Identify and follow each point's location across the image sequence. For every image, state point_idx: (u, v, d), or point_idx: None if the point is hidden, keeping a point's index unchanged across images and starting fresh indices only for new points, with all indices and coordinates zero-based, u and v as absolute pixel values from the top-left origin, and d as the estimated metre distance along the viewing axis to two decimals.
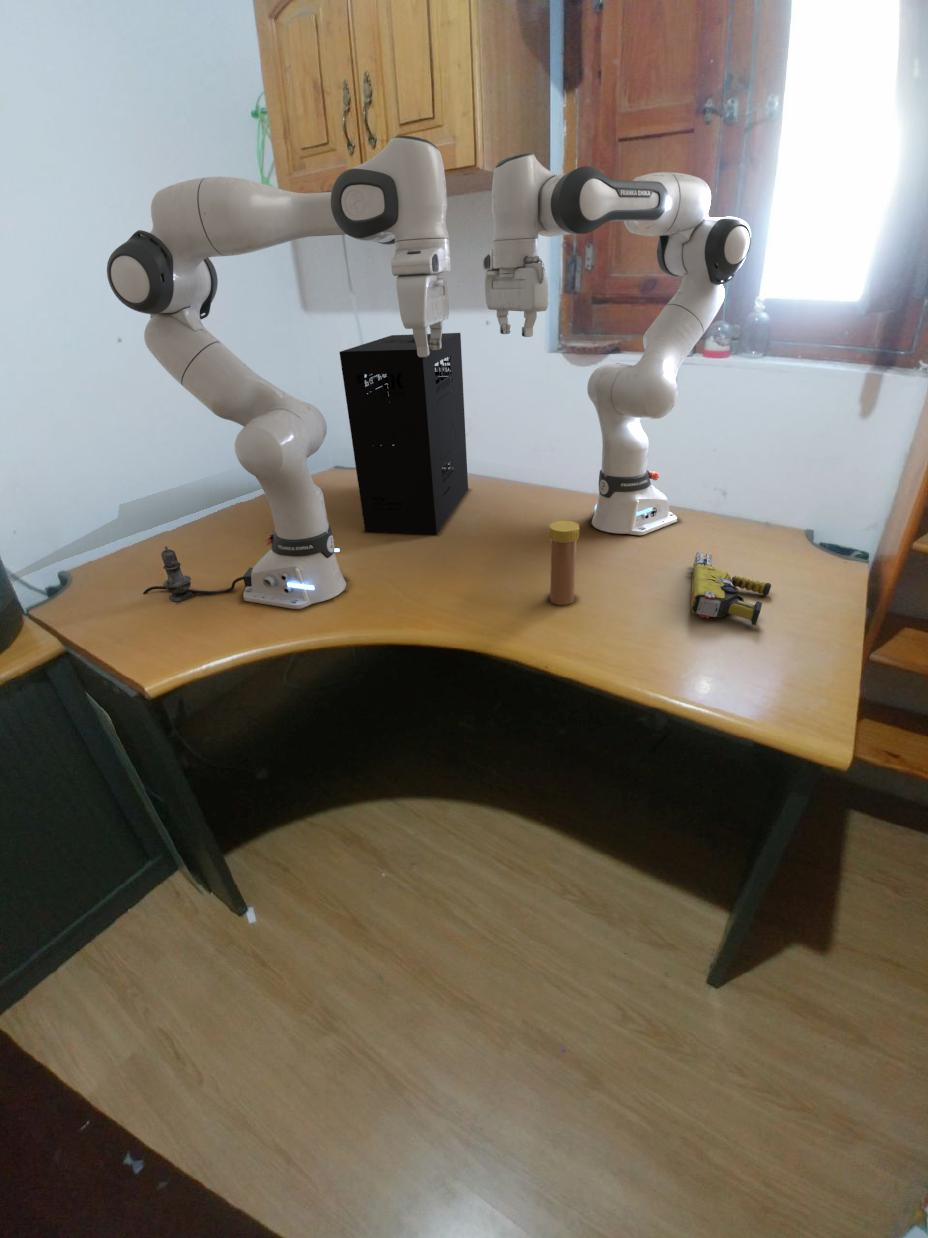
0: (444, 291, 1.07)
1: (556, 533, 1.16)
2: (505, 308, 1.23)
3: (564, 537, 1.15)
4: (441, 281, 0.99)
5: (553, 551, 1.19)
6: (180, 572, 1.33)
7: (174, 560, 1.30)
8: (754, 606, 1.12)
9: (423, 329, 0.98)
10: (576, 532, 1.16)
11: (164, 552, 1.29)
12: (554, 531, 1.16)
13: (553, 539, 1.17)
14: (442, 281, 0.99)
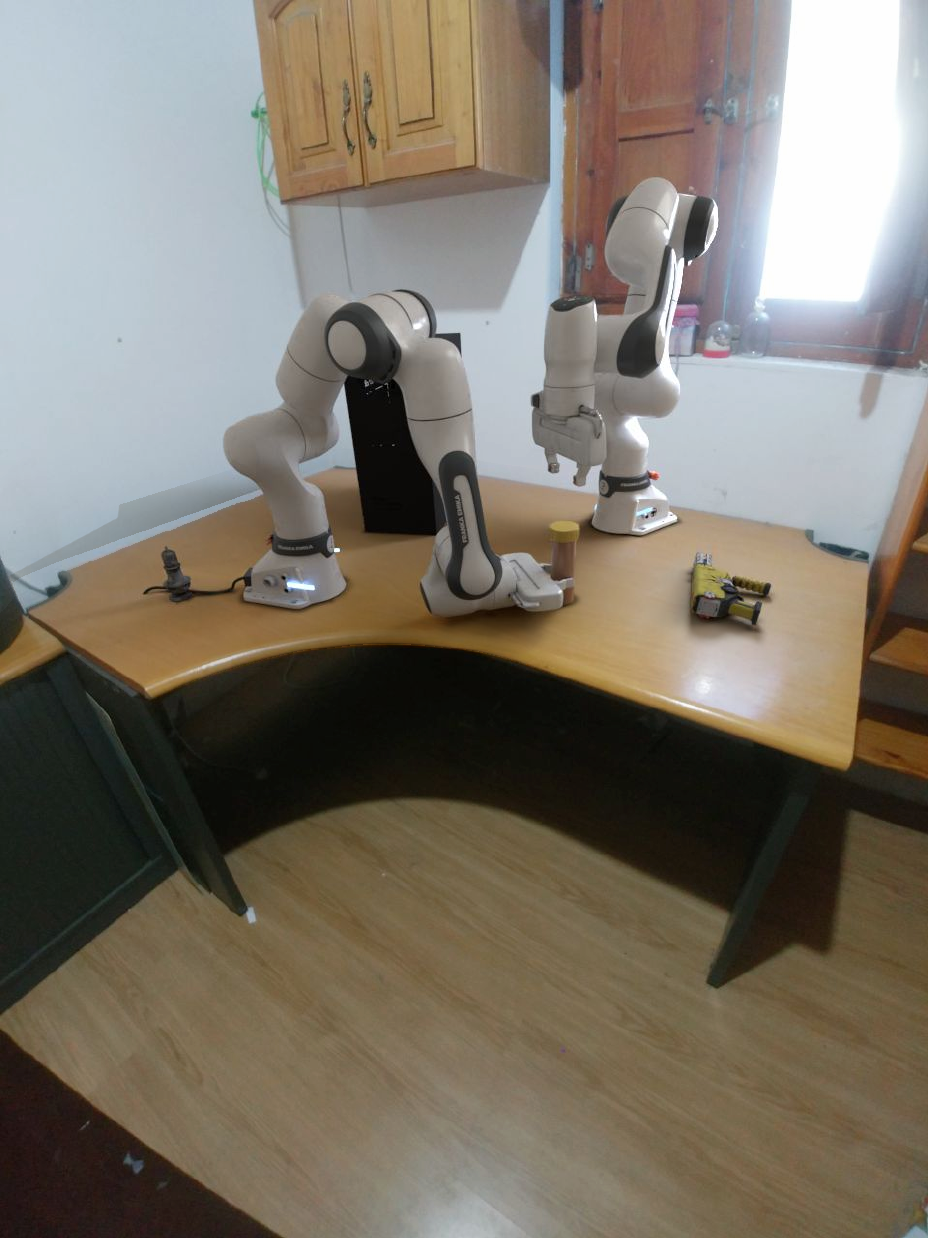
0: None
1: (556, 533, 1.16)
2: (555, 451, 1.10)
3: (564, 537, 1.15)
4: None
5: (553, 551, 1.19)
6: (180, 572, 1.33)
7: (174, 560, 1.30)
8: (754, 606, 1.12)
9: None
10: (576, 532, 1.16)
11: (164, 552, 1.29)
12: (554, 531, 1.16)
13: (553, 539, 1.17)
14: None
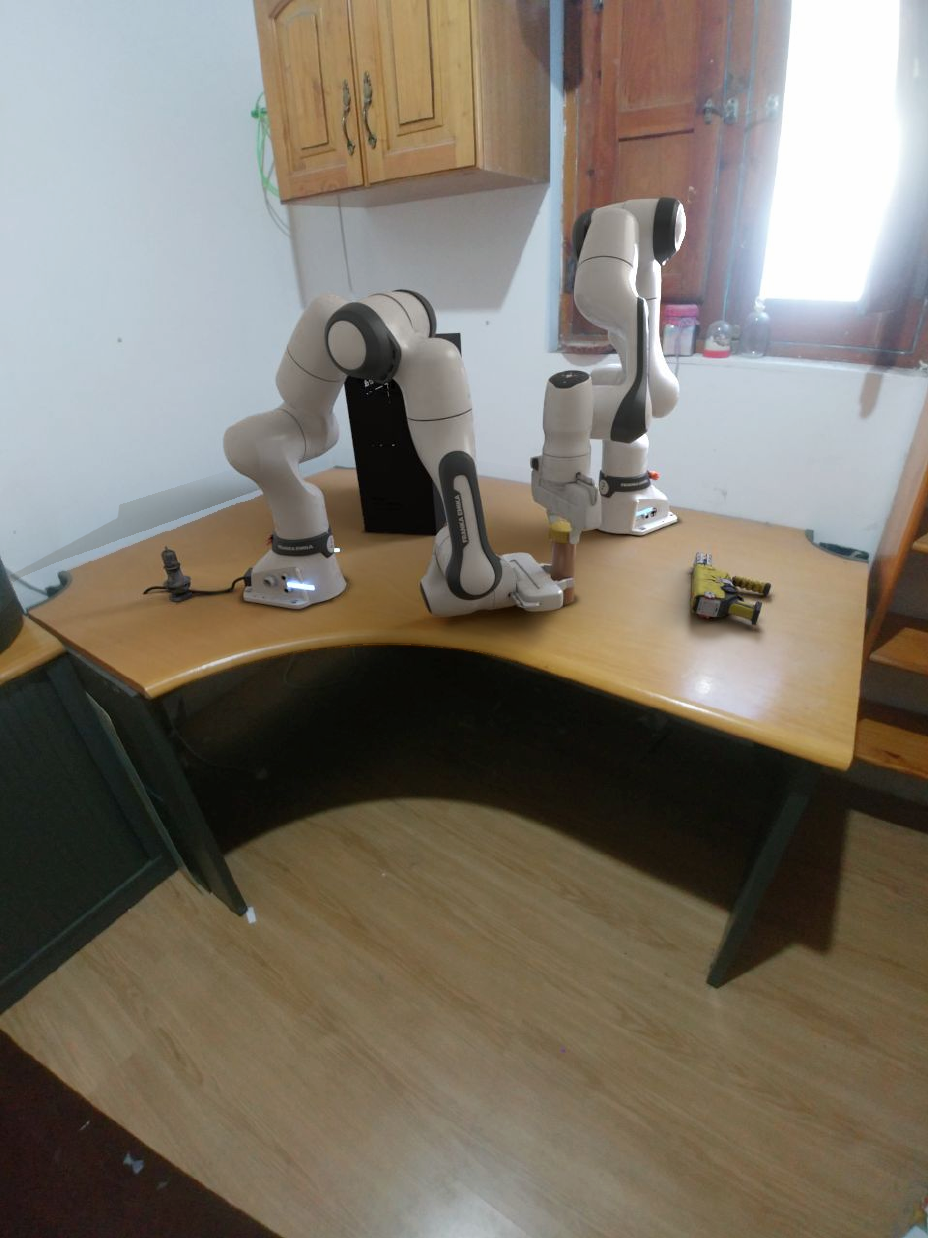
0: None
1: (556, 533, 1.16)
2: (553, 511, 1.16)
3: (564, 537, 1.15)
4: None
5: (553, 551, 1.18)
6: (180, 572, 1.33)
7: (174, 560, 1.30)
8: (754, 606, 1.12)
9: None
10: None
11: (164, 552, 1.29)
12: (554, 531, 1.16)
13: (553, 539, 1.17)
14: None
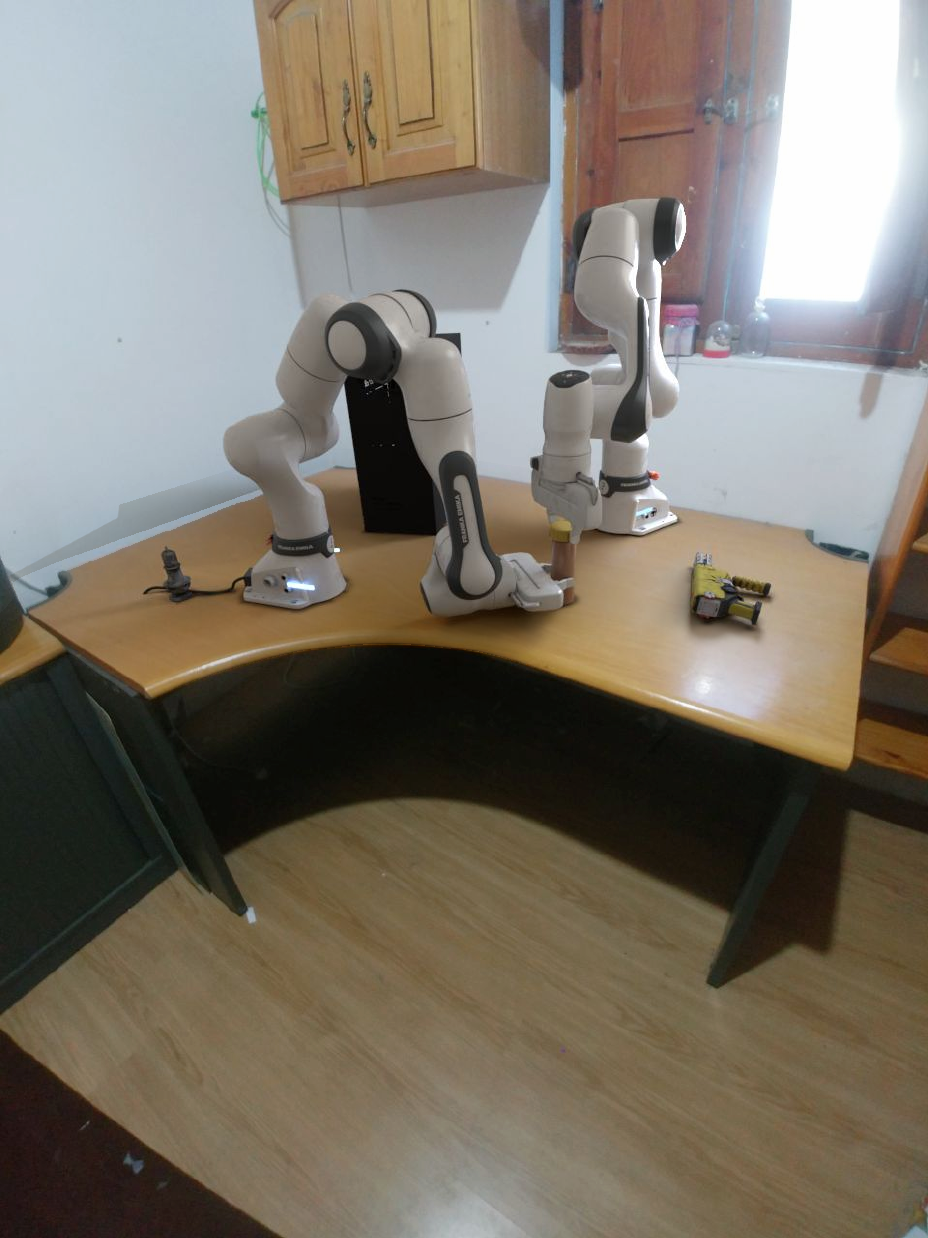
0: None
1: None
2: (553, 511, 1.16)
3: None
4: None
5: (553, 551, 1.19)
6: (180, 572, 1.33)
7: (174, 560, 1.30)
8: (754, 606, 1.12)
9: None
10: None
11: (164, 552, 1.29)
12: None
13: None
14: None
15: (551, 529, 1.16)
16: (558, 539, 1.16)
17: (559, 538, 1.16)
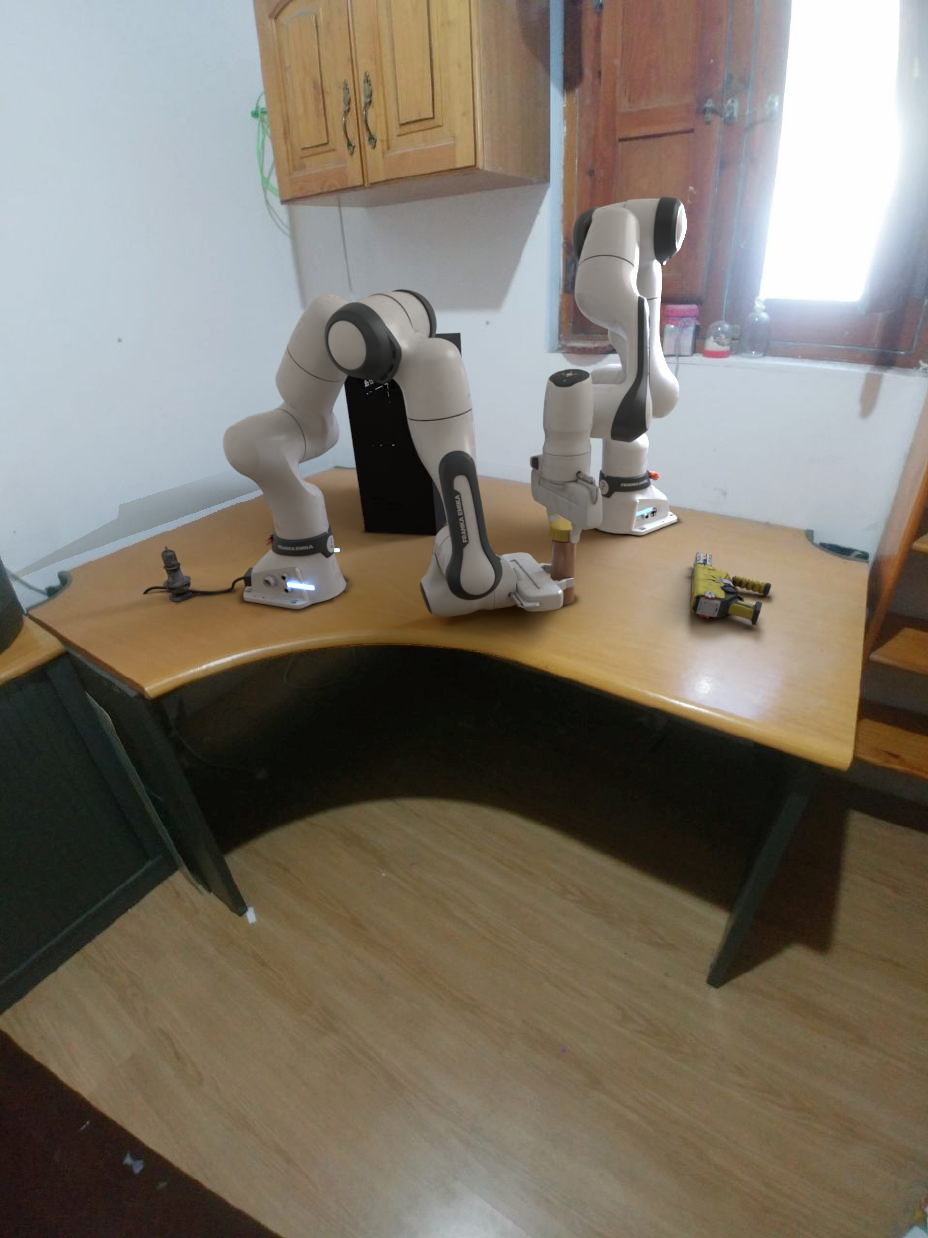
0: None
1: None
2: (553, 510, 1.16)
3: None
4: None
5: (553, 551, 1.19)
6: (180, 572, 1.33)
7: (174, 560, 1.30)
8: (754, 606, 1.12)
9: None
10: None
11: (164, 552, 1.29)
12: None
13: None
14: None
15: (570, 531, 1.15)
16: None
17: None
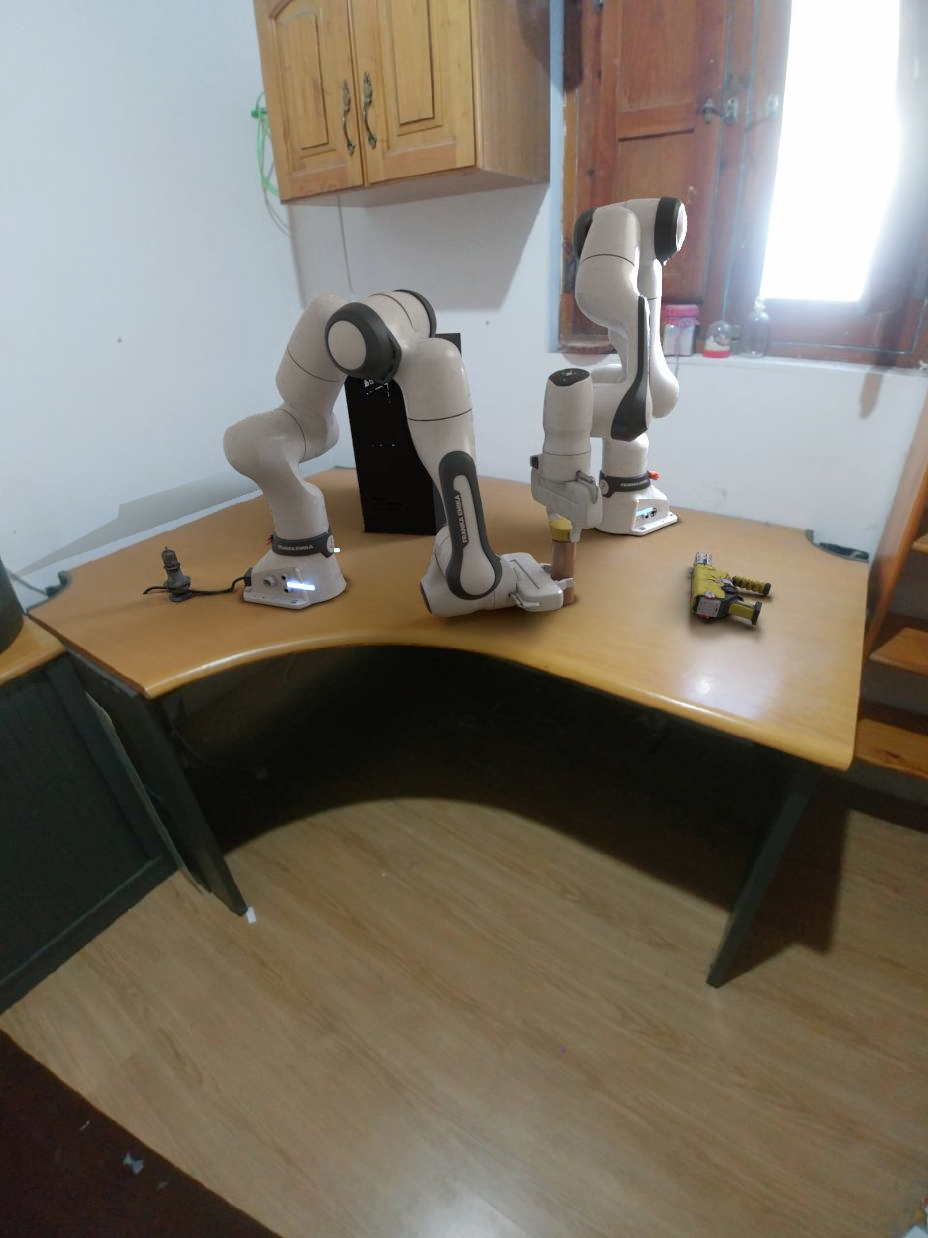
0: None
1: None
2: (553, 510, 1.16)
3: None
4: None
5: (553, 551, 1.19)
6: (180, 572, 1.33)
7: (174, 560, 1.30)
8: (754, 606, 1.12)
9: None
10: (555, 531, 1.16)
11: (164, 552, 1.29)
12: None
13: None
14: None
15: None
16: None
17: None
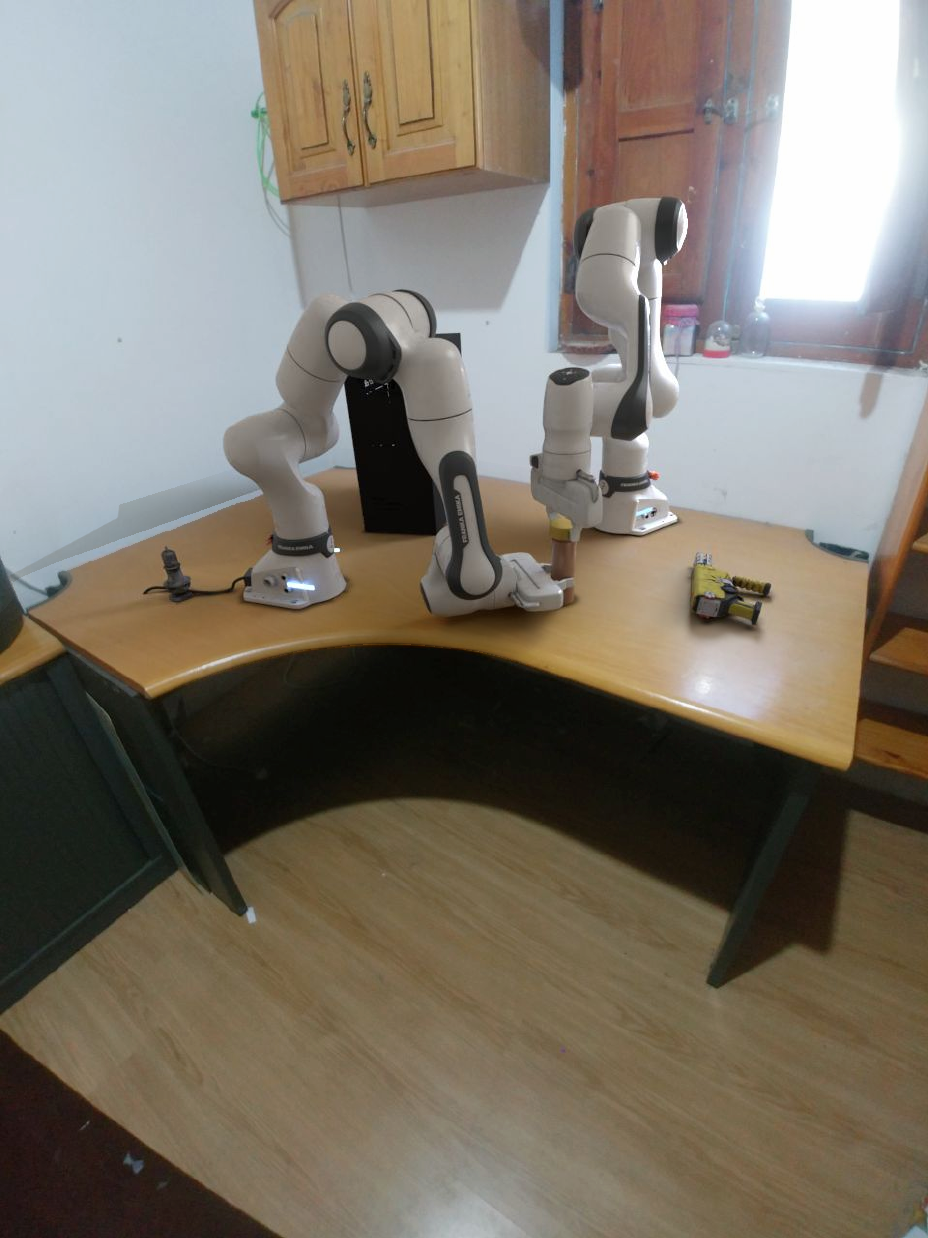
0: None
1: (555, 530, 1.16)
2: (553, 509, 1.16)
3: (562, 534, 1.15)
4: None
5: (553, 551, 1.19)
6: (180, 572, 1.33)
7: (174, 560, 1.30)
8: (754, 606, 1.12)
9: None
10: None
11: (164, 552, 1.29)
12: (553, 528, 1.16)
13: (552, 536, 1.17)
14: None
15: None
16: None
17: None
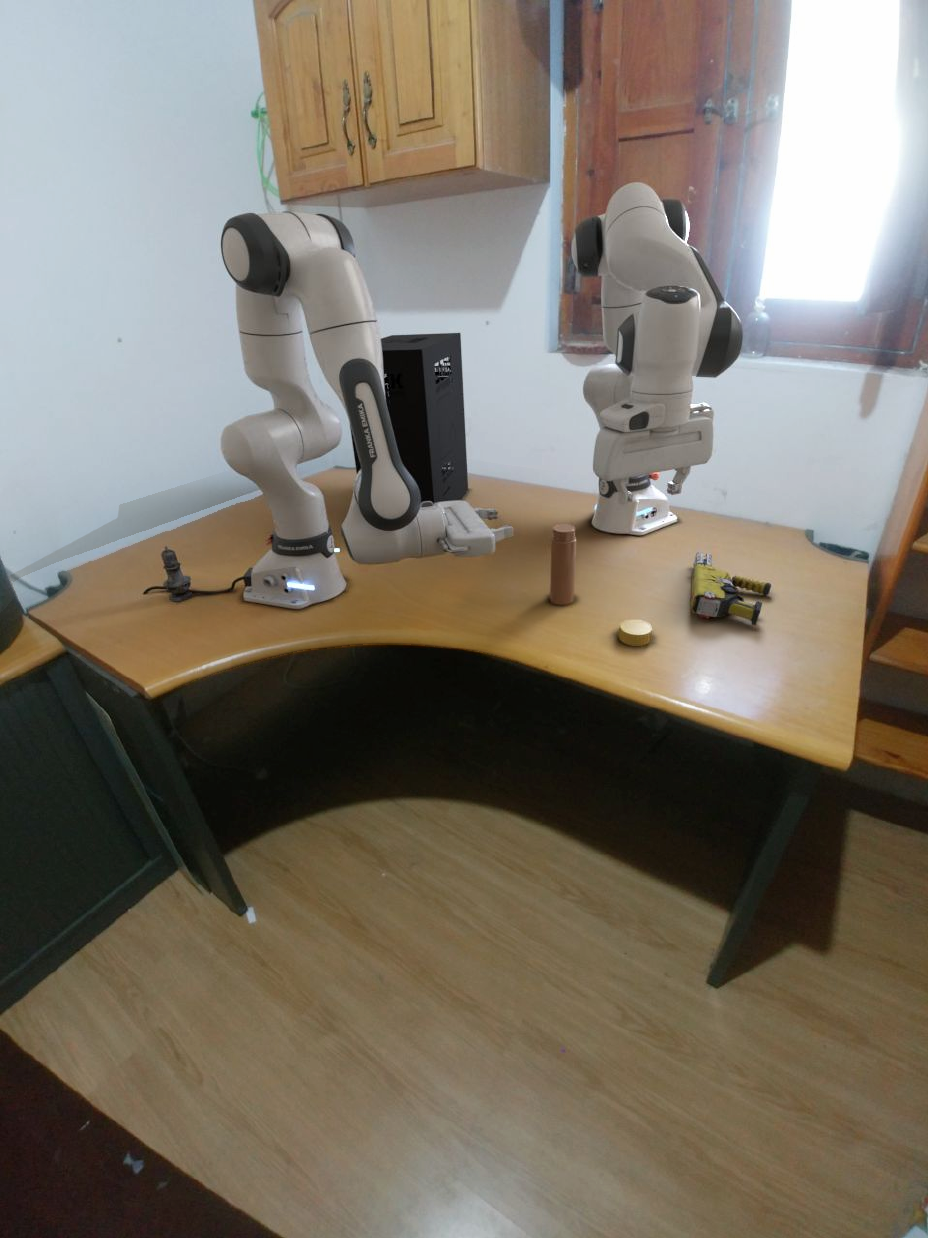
0: None
1: (648, 635, 1.08)
2: (653, 471, 0.93)
3: (651, 633, 1.10)
4: None
5: (553, 551, 1.19)
6: (180, 572, 1.33)
7: (174, 560, 1.30)
8: (754, 606, 1.12)
9: None
10: None
11: (164, 552, 1.29)
12: (647, 634, 1.08)
13: (645, 643, 1.09)
14: None
15: (621, 630, 1.10)
16: (628, 642, 1.09)
17: (629, 641, 1.09)
